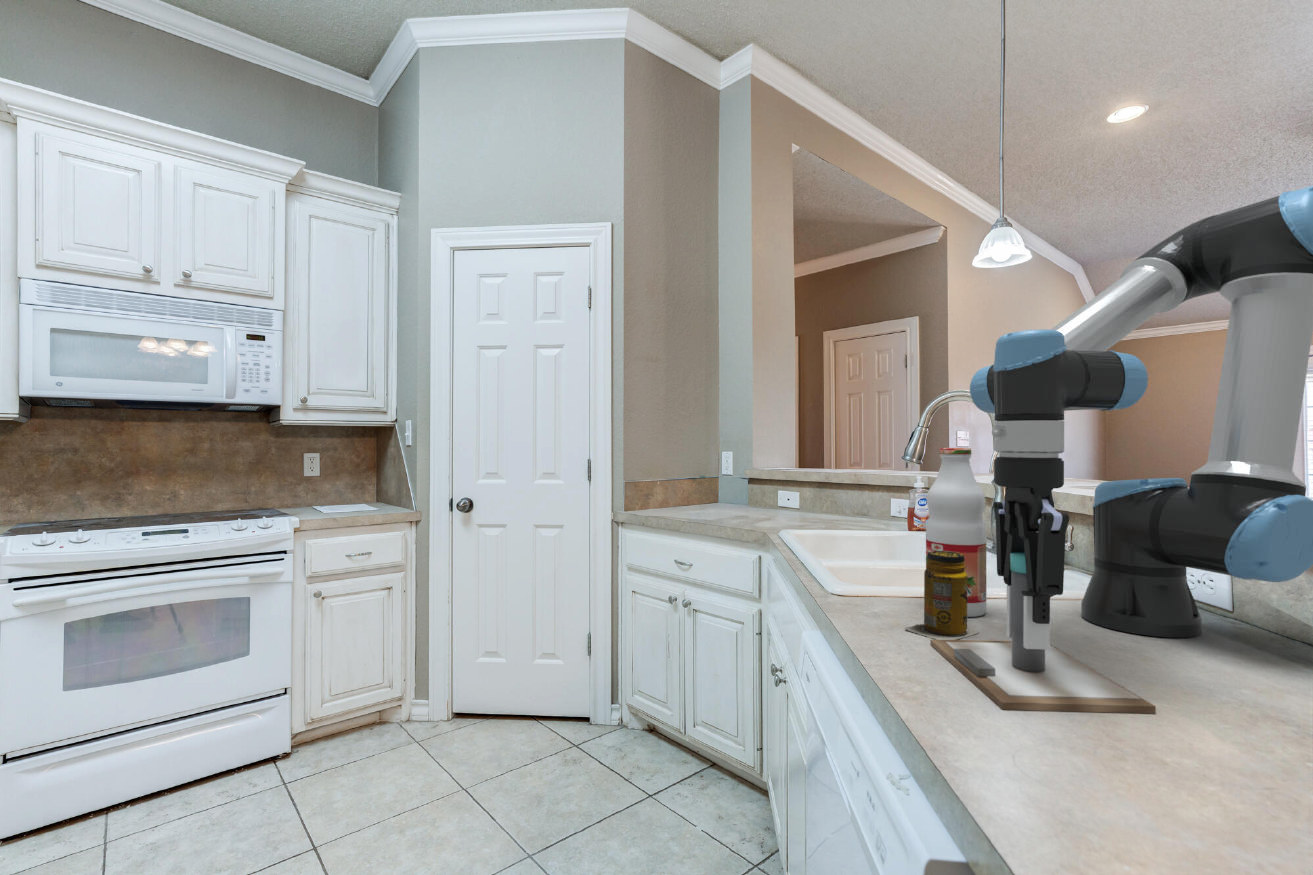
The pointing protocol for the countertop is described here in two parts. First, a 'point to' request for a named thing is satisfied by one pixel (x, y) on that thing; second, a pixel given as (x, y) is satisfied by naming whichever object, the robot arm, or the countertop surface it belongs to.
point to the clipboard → (1038, 680)
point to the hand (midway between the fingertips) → (1027, 642)
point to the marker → (1021, 619)
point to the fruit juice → (959, 522)
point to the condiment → (944, 598)
